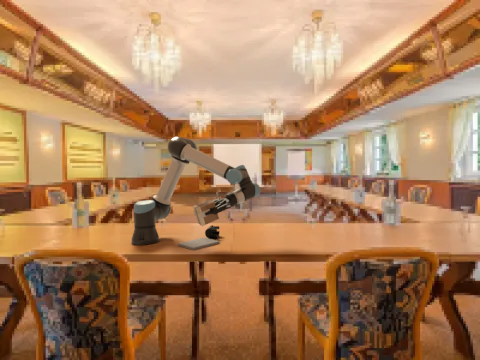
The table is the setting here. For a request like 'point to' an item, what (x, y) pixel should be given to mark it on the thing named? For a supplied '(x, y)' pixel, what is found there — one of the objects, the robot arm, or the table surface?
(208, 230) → the end cap
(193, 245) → the gray board
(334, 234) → the table surface
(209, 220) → the walnut box
